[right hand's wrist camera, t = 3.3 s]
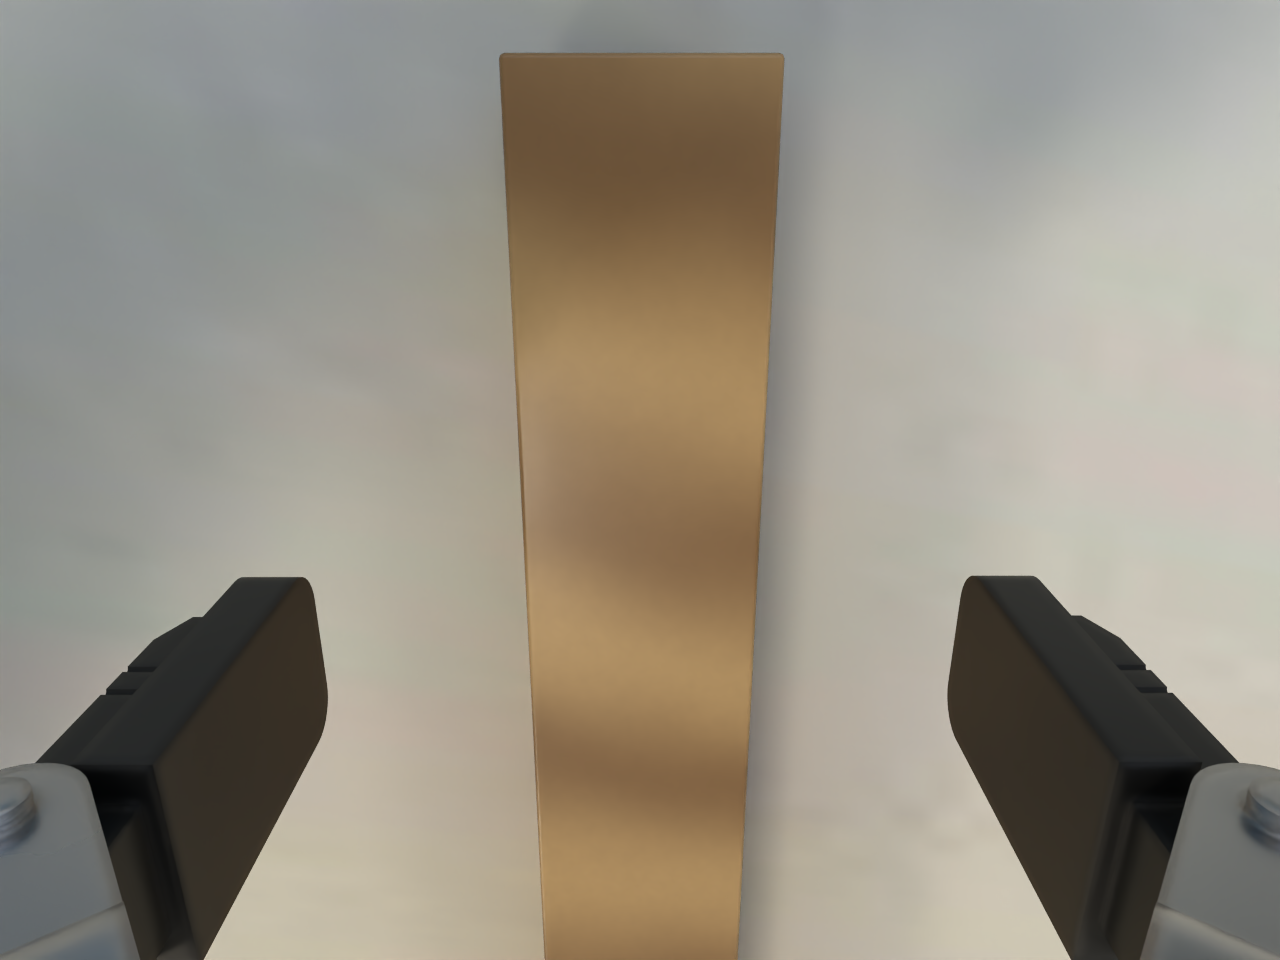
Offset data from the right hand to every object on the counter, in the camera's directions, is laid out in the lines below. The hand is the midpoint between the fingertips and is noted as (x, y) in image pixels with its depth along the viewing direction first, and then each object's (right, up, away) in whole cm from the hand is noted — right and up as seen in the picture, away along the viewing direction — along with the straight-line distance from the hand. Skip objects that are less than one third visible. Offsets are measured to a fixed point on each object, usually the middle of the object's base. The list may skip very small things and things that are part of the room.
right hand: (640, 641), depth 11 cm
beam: (0, -20, +22) cm, 30 cm away
